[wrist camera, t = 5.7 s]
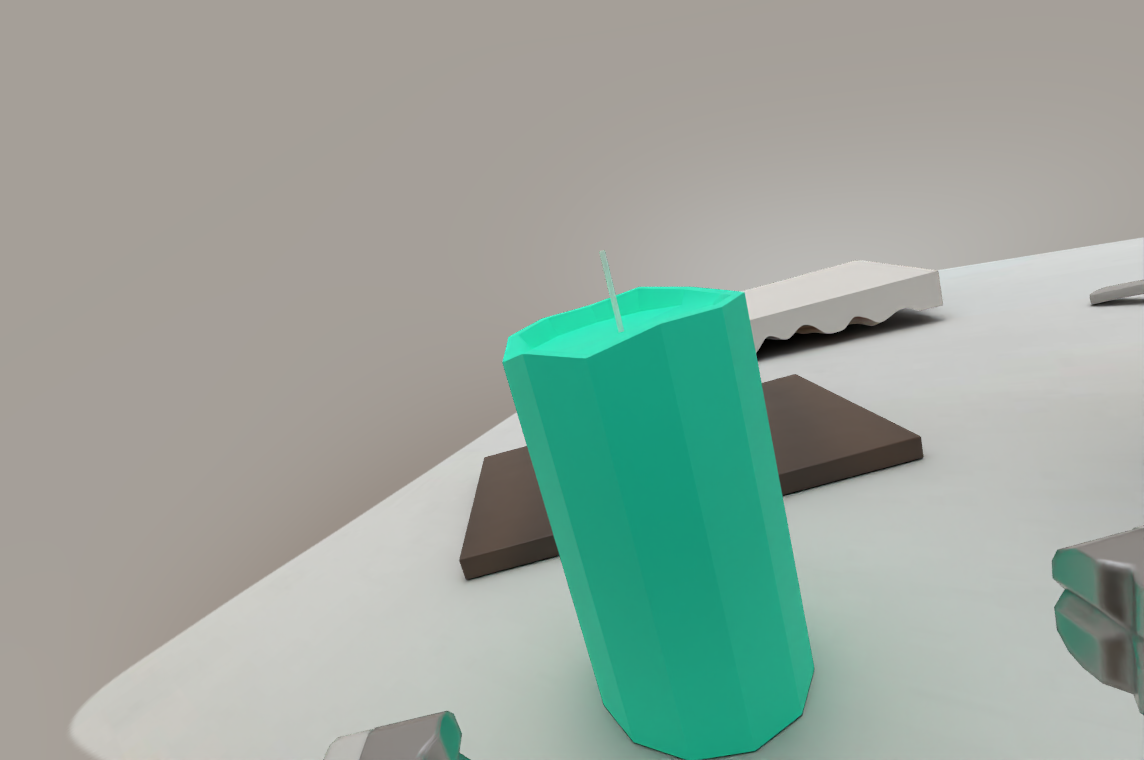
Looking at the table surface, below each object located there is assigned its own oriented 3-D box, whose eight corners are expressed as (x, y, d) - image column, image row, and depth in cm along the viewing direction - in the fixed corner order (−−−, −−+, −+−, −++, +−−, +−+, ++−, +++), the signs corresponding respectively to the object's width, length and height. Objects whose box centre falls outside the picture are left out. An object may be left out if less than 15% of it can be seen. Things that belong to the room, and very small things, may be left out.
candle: (624, 599, 20) (534, 263, 17) (806, 596, 18) (736, 212, 15) (574, 751, 15) (430, 299, 12) (825, 772, 13) (722, 227, 10)
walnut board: (465, 580, 24) (458, 560, 24) (488, 471, 36) (484, 457, 36) (924, 457, 24) (921, 436, 24) (798, 388, 36) (795, 373, 36)
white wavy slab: (673, 383, 45) (944, 315, 42) (662, 343, 44) (938, 270, 41) (661, 346, 59) (863, 293, 56) (653, 315, 59) (857, 259, 55)
